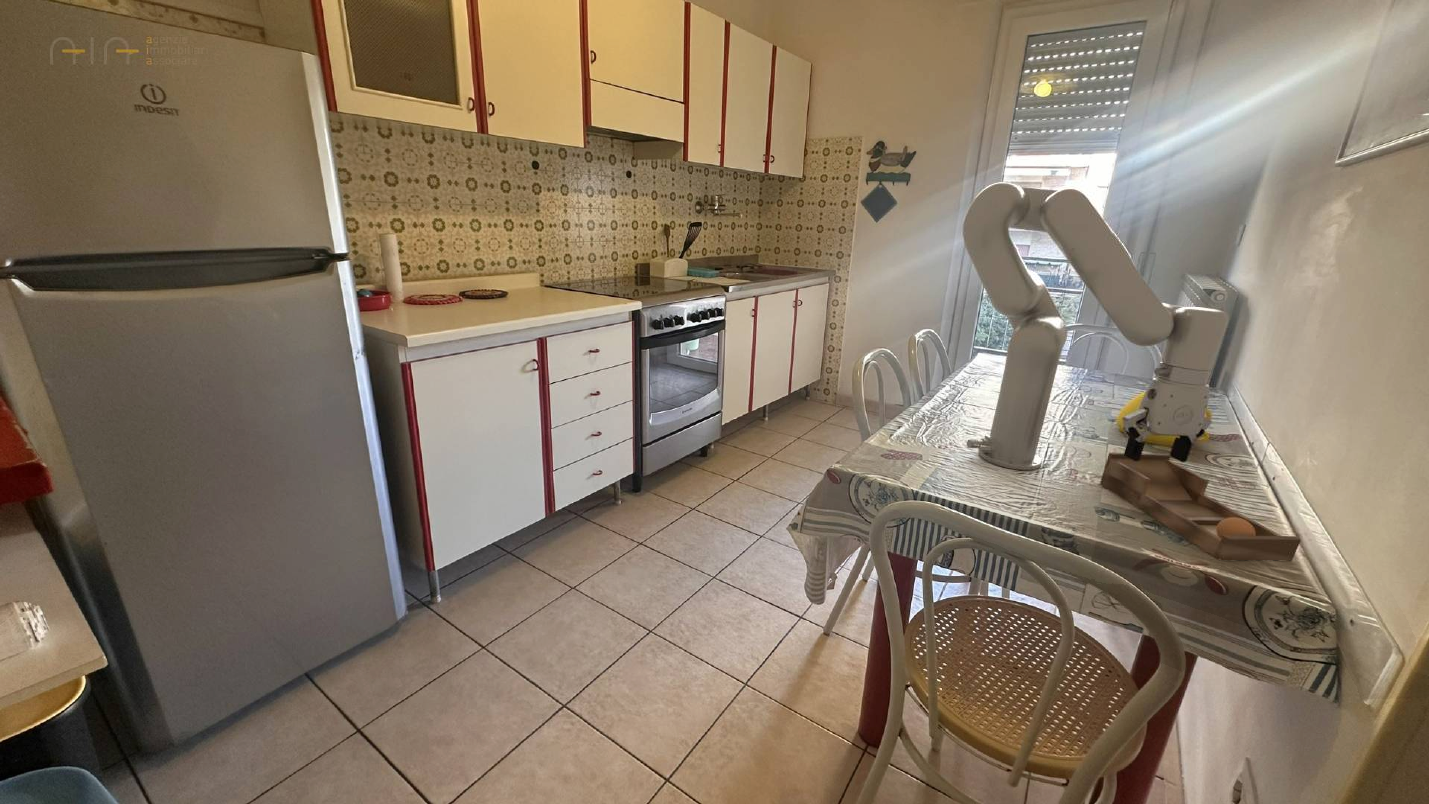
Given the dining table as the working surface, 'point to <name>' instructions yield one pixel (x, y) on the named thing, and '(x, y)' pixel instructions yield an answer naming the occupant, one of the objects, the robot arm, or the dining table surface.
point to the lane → (1189, 507)
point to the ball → (1235, 528)
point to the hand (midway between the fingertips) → (1154, 458)
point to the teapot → (1152, 438)
